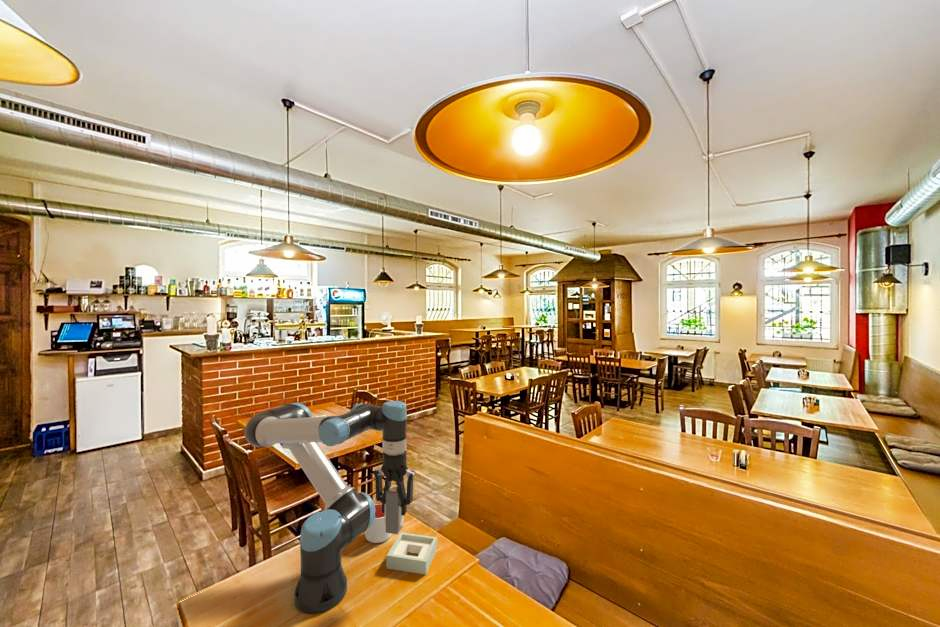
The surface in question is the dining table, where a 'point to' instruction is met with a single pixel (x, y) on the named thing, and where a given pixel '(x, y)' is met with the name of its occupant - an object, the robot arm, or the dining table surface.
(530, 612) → the dining table surface
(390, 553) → the walled box
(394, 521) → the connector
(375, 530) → the cup
